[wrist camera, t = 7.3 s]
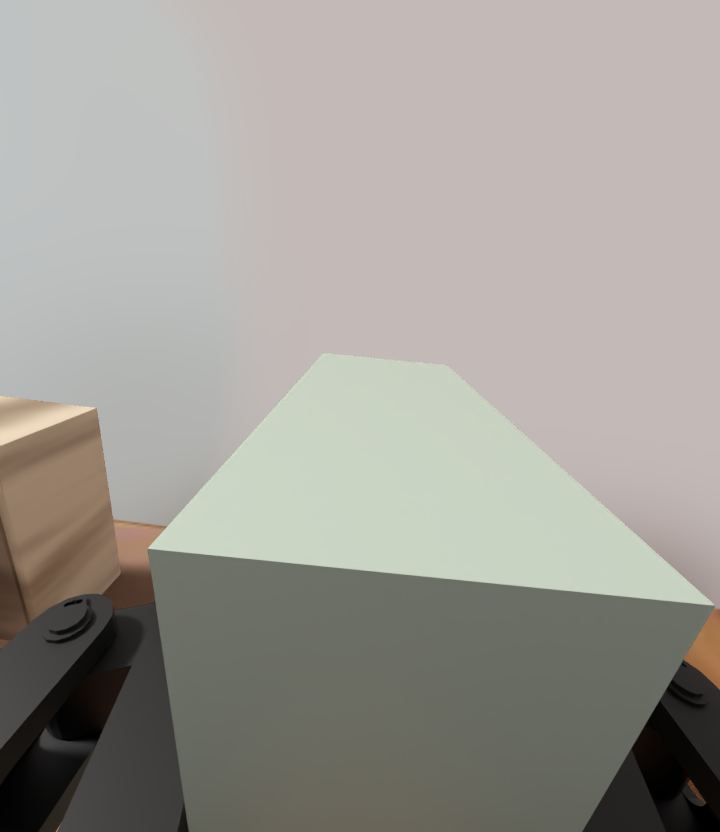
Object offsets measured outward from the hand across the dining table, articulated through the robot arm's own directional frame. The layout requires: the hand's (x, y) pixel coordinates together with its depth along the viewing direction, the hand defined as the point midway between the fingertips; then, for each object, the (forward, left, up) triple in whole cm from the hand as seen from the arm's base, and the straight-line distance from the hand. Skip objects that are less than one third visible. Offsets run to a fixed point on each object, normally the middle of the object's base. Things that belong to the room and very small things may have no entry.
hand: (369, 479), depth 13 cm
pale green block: (-2, +5, -7) cm, 9 cm away
